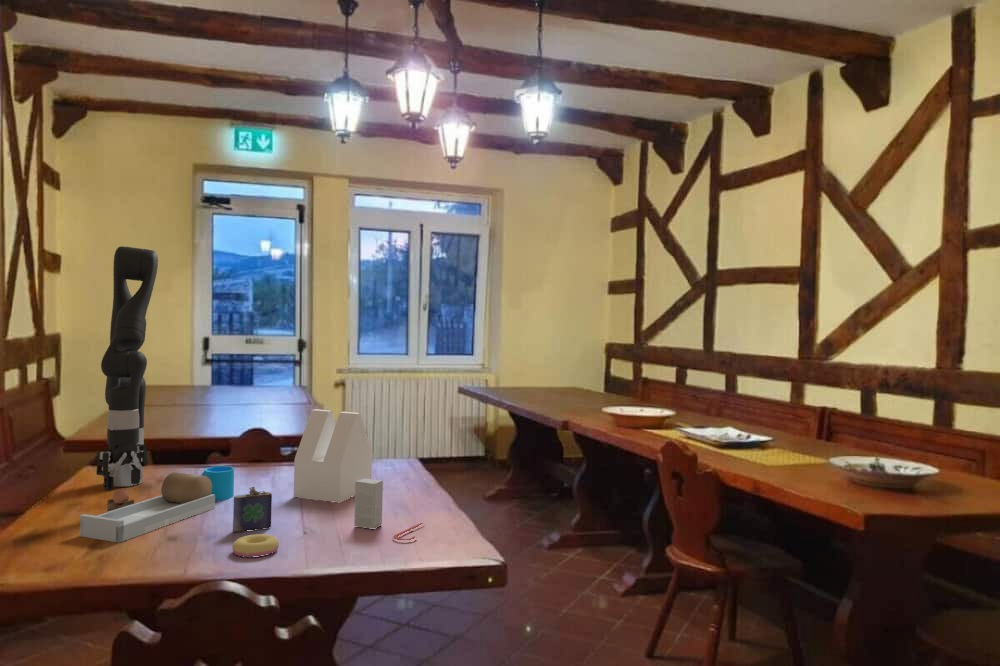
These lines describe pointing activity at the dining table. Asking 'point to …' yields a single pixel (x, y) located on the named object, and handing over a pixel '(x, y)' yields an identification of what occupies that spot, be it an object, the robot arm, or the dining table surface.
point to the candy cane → (404, 532)
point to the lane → (152, 510)
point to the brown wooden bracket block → (113, 505)
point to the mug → (221, 481)
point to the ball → (120, 496)
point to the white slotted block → (332, 456)
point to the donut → (255, 545)
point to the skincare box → (368, 503)
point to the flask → (252, 511)
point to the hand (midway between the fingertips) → (122, 487)
